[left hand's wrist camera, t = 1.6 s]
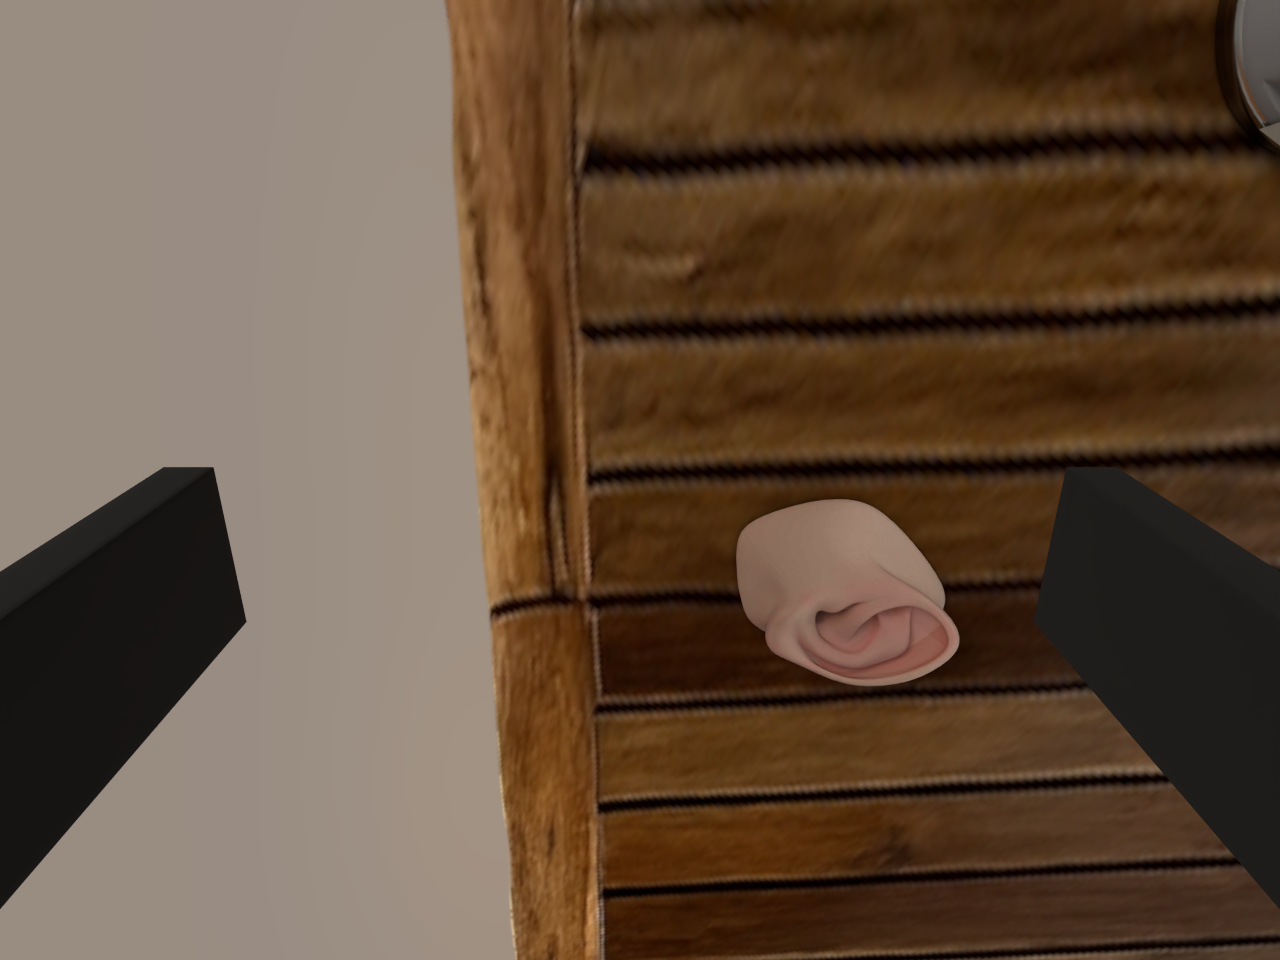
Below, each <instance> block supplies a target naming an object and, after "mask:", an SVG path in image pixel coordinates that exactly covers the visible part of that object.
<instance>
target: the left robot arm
mask: <svg viewBox="0 0 1280 960" xmlns="http://www.w3.org/2000/svg"><path fill="white" fill-rule="evenodd" d="M1215 48H1216V62H1217V68H1218V73H1219V78H1220V82H1221V85H1222V89H1223V92H1224V94H1225V97H1226V99H1227V102H1228V104H1229V106H1230V108H1231V110H1232V111H1233V113H1234V115H1235V117H1236V118H1237V120H1238V121H1239V122H1240V124H1241V125H1242V126H1243V128H1244V129H1245V130H1246V131H1247V132H1248V133H1249V134H1250V135H1251V136H1252V137H1253V138H1254V139H1255V140H1256V141H1258V142H1259V143H1260V144H1261V145H1263V146H1264V147H1266V148H1267V149H1269V150H1271V151H1272V152H1274V153H1276V154H1278V155H1280V0H1220V2H1219V7H1218V13H1217V21H1216V37H1215ZM245 623H246V618H245V613H244V608H243V603H242V599H241V594H240V590H239V585H238V580H237V575H236V571H235V566H234V561H233V557H232V552H231V547H230V543H229V538H228V533H227V528H226V524H225V519H224V514H223V510H222V505H221V500H220V496H219V491H218V486H217V482H216V477H215V472H214V468H213V467H163V468H162V469H160V470H159V471H157V472H156V473H154V474H152V475H151V476H149V477H148V478H146V479H145V480H143V481H141V482H140V483H138V484H137V485H135V486H134V487H132V488H131V489H129V490H127V491H126V492H124V493H123V494H121V495H120V496H118V497H117V498H115V499H113V500H112V501H110V502H109V503H107V504H106V505H104V506H103V507H101V508H99V509H98V510H96V511H95V512H93V513H91V514H90V515H88V516H87V517H85V518H84V519H82V520H80V521H79V522H77V523H76V524H74V525H73V526H71V527H70V528H68V529H66V530H65V531H63V532H62V533H60V534H59V535H57V536H55V537H54V538H52V539H51V540H49V541H48V542H46V543H45V544H43V545H41V546H40V547H38V548H37V549H35V550H34V551H32V552H30V553H29V554H27V555H26V556H24V557H23V558H21V559H19V560H18V561H16V562H15V563H13V564H12V565H10V566H9V567H7V568H5V569H4V570H2V571H1V572H0V909H1V907H2V906H3V905H4V904H5V903H6V902H7V900H8V899H9V898H10V897H11V896H12V895H13V893H14V892H15V891H16V890H17V889H18V888H19V886H20V885H21V884H22V883H23V882H24V881H25V879H26V878H27V877H28V876H29V875H30V874H31V872H32V871H33V870H34V869H35V868H36V867H37V866H38V864H39V863H40V862H41V861H42V860H43V858H44V857H45V856H46V855H47V854H48V853H49V852H50V850H51V849H52V848H53V847H54V846H55V845H56V843H57V842H58V841H59V840H60V839H61V837H62V836H63V835H64V834H65V833H66V832H67V831H68V829H69V828H70V827H71V826H72V825H73V824H74V822H75V821H76V820H77V819H78V818H79V816H80V815H81V814H82V813H83V812H84V811H85V809H86V808H87V807H88V806H89V805H90V804H91V803H92V801H93V800H94V799H95V798H96V797H97V796H98V794H99V793H100V792H101V791H102V790H103V789H104V787H105V786H106V785H107V784H108V783H109V782H110V780H111V779H112V778H113V777H114V776H115V774H116V773H117V772H118V771H119V770H120V769H121V768H122V766H123V765H124V764H125V763H126V762H127V761H128V759H129V758H130V757H131V756H132V755H133V754H134V752H135V751H136V750H137V749H138V748H139V747H140V745H141V744H142V743H143V742H144V741H145V740H146V738H147V737H148V736H149V735H150V734H151V732H152V731H153V730H154V729H155V728H156V727H157V726H158V724H159V723H160V722H161V721H162V720H163V719H164V717H165V716H166V715H167V714H168V713H169V712H170V710H171V709H172V708H173V707H174V706H175V705H176V703H177V702H178V701H179V700H180V699H181V698H182V696H183V695H184V694H185V693H186V692H187V691H188V689H189V688H190V687H191V686H192V685H193V684H194V682H195V681H196V680H197V679H198V678H199V677H200V675H201V674H202V673H203V672H204V671H205V670H206V668H207V667H208V666H209V665H210V664H211V663H212V661H213V660H214V659H215V658H216V657H217V655H218V654H219V653H220V652H221V651H222V650H223V649H224V647H225V646H226V645H227V644H228V643H229V642H230V640H231V639H232V638H233V637H234V636H235V635H236V633H237V632H238V631H239V630H240V629H241V628H242V626H243V625H244V624H245ZM1034 623H1035V624H1036V625H1037V626H1038V628H1039V629H1040V630H1041V631H1042V632H1043V633H1044V635H1045V636H1046V637H1047V638H1048V639H1049V640H1050V642H1051V643H1052V644H1053V645H1054V646H1055V647H1056V649H1057V650H1058V651H1059V652H1060V653H1061V654H1062V656H1063V657H1064V658H1065V659H1066V660H1067V661H1068V663H1069V664H1070V665H1071V666H1072V667H1073V668H1074V670H1075V671H1076V672H1077V673H1078V674H1079V675H1080V677H1081V678H1082V679H1083V680H1084V681H1085V682H1086V684H1087V685H1088V686H1089V687H1090V688H1091V689H1092V691H1093V692H1094V693H1095V694H1096V695H1097V696H1098V698H1099V699H1100V700H1101V701H1102V702H1103V703H1104V705H1105V706H1106V707H1107V708H1108V709H1109V710H1110V712H1111V713H1112V714H1113V715H1114V716H1115V717H1116V719H1117V720H1118V721H1119V722H1120V723H1121V724H1122V726H1123V727H1124V728H1125V729H1126V730H1127V731H1128V733H1129V734H1130V735H1131V736H1132V737H1133V738H1134V740H1135V741H1136V742H1137V743H1138V744H1139V745H1140V747H1141V748H1142V749H1143V750H1144V751H1145V752H1146V754H1147V755H1148V756H1149V757H1150V758H1151V759H1152V761H1153V762H1154V763H1155V764H1156V765H1157V766H1158V768H1159V769H1160V770H1161V771H1162V772H1163V773H1164V775H1165V776H1166V777H1167V778H1168V779H1169V780H1170V782H1171V783H1172V784H1173V785H1174V786H1175V787H1176V789H1177V790H1178V791H1179V792H1180V793H1181V794H1182V796H1183V797H1184V798H1185V799H1186V800H1187V801H1188V803H1189V804H1190V805H1191V806H1192V807H1193V808H1194V810H1195V811H1196V812H1197V813H1198V814H1199V815H1200V817H1201V818H1202V819H1203V820H1204V821H1205V822H1206V824H1207V825H1208V826H1209V827H1210V828H1211V829H1212V831H1213V832H1214V833H1215V834H1216V835H1217V836H1218V838H1219V839H1220V840H1221V841H1222V842H1223V843H1224V845H1225V846H1226V847H1227V848H1228V849H1229V850H1230V852H1231V853H1232V854H1233V855H1234V856H1235V857H1236V859H1237V860H1238V861H1239V862H1240V863H1241V864H1242V866H1243V867H1244V868H1245V869H1246V870H1247V871H1248V873H1249V874H1250V875H1251V876H1252V877H1253V878H1254V879H1255V881H1256V882H1257V883H1258V884H1259V885H1260V886H1261V888H1262V889H1263V890H1264V891H1265V892H1266V893H1267V895H1268V896H1269V897H1270V898H1271V899H1272V900H1273V902H1274V903H1275V904H1276V905H1277V906H1278V907H1279V909H1280V572H1279V571H1278V570H1276V569H1275V568H1273V567H1271V566H1270V565H1268V564H1267V563H1265V562H1264V561H1262V560H1261V559H1259V558H1257V557H1256V556H1254V555H1253V554H1251V553H1250V552H1248V551H1246V550H1245V549H1243V548H1242V547H1240V546H1239V545H1237V544H1235V543H1234V542H1232V541H1231V540H1229V539H1228V538H1226V537H1225V536H1223V535H1221V534H1220V533H1218V532H1217V531H1215V530H1214V529H1212V528H1210V527H1209V526H1207V525H1206V524H1204V523H1203V522H1201V521H1200V520H1198V519H1196V518H1195V517H1193V516H1192V515H1190V514H1189V513H1187V512H1185V511H1184V510H1182V509H1181V508H1179V507H1178V506H1176V505H1174V504H1173V503H1171V502H1170V501H1168V500H1167V499H1165V498H1164V497H1162V496H1160V495H1159V494H1157V493H1156V492H1154V491H1153V490H1151V489H1149V488H1148V487H1146V486H1145V485H1143V484H1142V483H1140V482H1139V481H1137V480H1135V479H1134V478H1132V477H1131V476H1129V475H1128V474H1126V473H1124V472H1123V471H1121V470H1120V469H1118V468H1117V467H1067V468H1066V472H1065V477H1064V482H1063V486H1062V491H1061V496H1060V500H1059V505H1058V510H1057V514H1056V519H1055V524H1054V528H1053V533H1052V538H1051V542H1050V547H1049V552H1048V557H1047V561H1046V566H1045V571H1044V575H1043V580H1042V585H1041V589H1040V594H1039V599H1038V603H1037V608H1036V613H1035V617H1034Z"/></svg>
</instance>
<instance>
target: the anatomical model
mask: <svg viewBox="0 0 1280 960" xmlns="http://www.w3.org/2000/svg"><path fill="white" fill-rule="evenodd" d="M736 561H737V579H738V588H739V592H740V596H741V600H742V604H743V608H744V611H745V613H746V615H747V617H748V618H749V620H750V621H751V622H752V623H753V624H754V625H756V626H757V627H758V628H760V629H761V630H763V631H765V632H766V642H767V644H768V646H769V648H770V649H771V650H772V652H774V653H775V654H777V655H778V656H780V657H782V658H785V659H787V660H789V661H791V662H793V663H796V664H798V665H800V666H802V667H804V668H807V669H809V670H811V671H813V672H815V673H817V674H820V675H822V676H825V677H827V678H829V679H832V680H835V681H838V682H842V683H846V684H851V685H858V686H882V685H890V684H897V683H902V682H906V681H910V680H913V679H916V678H918V677H921V676H923V675H925V674H927V673H929V672H931V671H933V670H934V669H936V668H938V667H940V666H941V665H942V664H944V663H945V662H946V661H948V660H949V659H950V658H951V657H952V656H953V654H954V653H955V652H956V650H957V648H958V646H959V634H958V630H957V628H956V626H955V624H954V623H953V621H952V620H951V618H950V617H949V616H948V615H947V614H946V613H945V611H944V610H943V607H944V604H945V594H944V589H943V587H942V584H941V582H940V580H939V578H938V577H937V575H936V573H935V572H934V570H933V569H932V567H931V566H930V564H929V563H928V561H927V560H926V559H925V557H924V556H923V555H922V553H921V552H920V551H919V550H918V549H917V547H916V546H915V545H914V544H913V543H912V541H911V540H910V539H909V538H908V537H907V536H906V535H905V533H904V532H903V531H902V530H901V529H900V528H899V527H898V526H897V525H896V524H895V523H894V522H892V521H891V520H890V519H889V518H888V517H887V516H886V515H884V514H883V513H881V512H880V511H879V510H877V509H875V508H874V507H872V506H870V505H868V504H865V503H862V502H859V501H854V500H847V499H833V500H820V501H814V502H808V503H804V504H800V505H796V506H791V507H788V508H785V509H782V510H778V511H775V512H773V513H770V514H767V515H765V516H762V517H760V518H758V519H756V520H754V521H753V522H751V523H750V524H749V525H747V526H746V527H745V528H744V530H743V531H742V532H741V534H740V536H739V539H738V543H737V554H736Z"/></svg>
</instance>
